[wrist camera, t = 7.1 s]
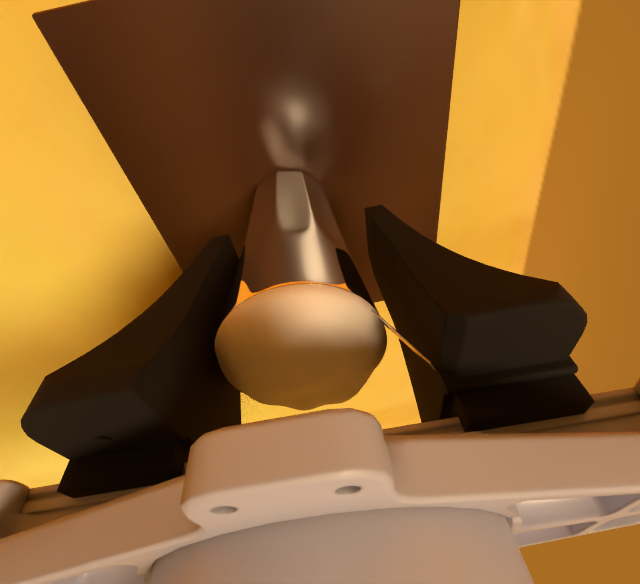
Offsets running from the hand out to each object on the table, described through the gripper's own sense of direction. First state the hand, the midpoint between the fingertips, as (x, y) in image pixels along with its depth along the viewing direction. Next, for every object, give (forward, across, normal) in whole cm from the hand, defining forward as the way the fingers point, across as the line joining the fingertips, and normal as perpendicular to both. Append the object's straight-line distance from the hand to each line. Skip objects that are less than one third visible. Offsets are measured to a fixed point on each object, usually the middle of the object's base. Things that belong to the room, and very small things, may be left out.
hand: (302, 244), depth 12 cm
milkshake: (+4, 0, 0) cm, 4 cm away
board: (+5, 0, 0) cm, 5 cm away
